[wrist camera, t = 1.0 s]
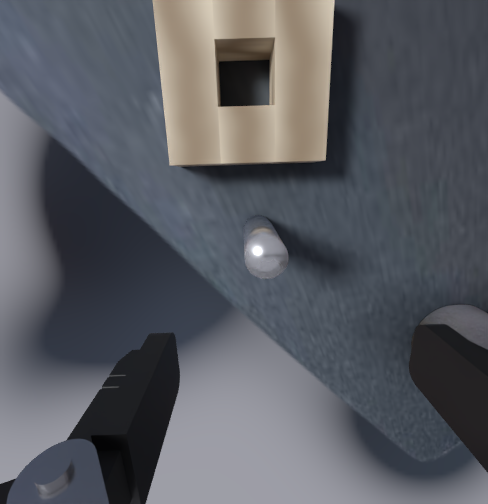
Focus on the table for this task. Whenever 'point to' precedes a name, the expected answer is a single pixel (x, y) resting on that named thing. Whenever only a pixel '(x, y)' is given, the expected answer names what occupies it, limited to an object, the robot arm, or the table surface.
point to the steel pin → (263, 248)
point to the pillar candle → (462, 322)
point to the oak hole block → (240, 49)
